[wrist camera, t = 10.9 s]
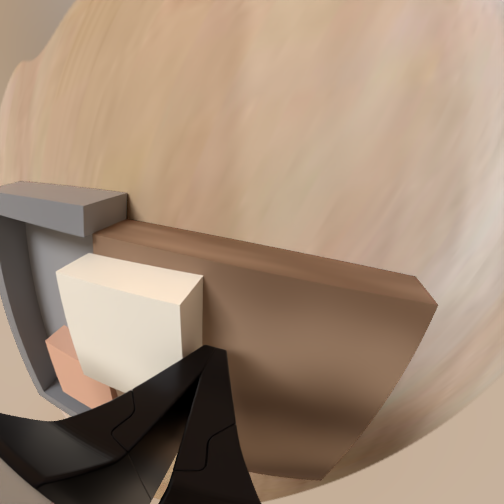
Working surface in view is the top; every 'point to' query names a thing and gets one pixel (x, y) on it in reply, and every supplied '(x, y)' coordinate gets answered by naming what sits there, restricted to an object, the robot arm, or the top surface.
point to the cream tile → (129, 317)
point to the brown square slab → (291, 338)
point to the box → (46, 265)
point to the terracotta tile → (75, 372)
